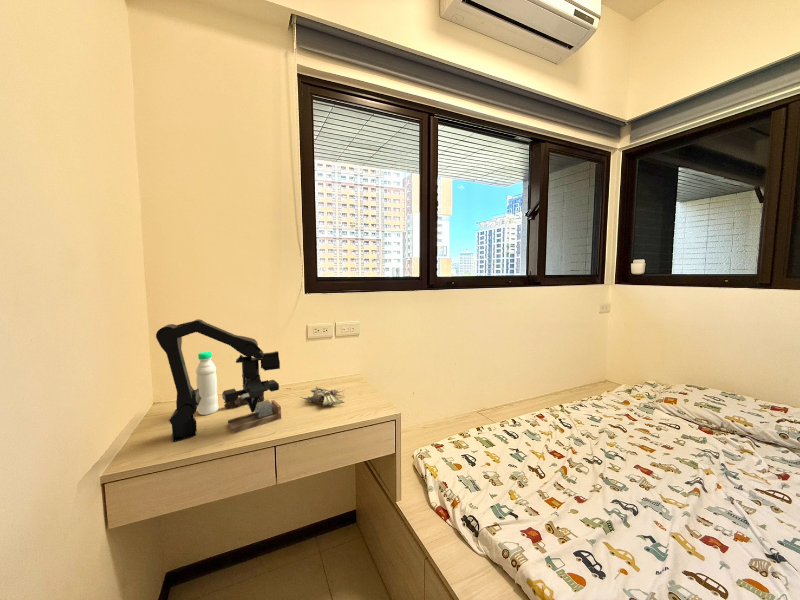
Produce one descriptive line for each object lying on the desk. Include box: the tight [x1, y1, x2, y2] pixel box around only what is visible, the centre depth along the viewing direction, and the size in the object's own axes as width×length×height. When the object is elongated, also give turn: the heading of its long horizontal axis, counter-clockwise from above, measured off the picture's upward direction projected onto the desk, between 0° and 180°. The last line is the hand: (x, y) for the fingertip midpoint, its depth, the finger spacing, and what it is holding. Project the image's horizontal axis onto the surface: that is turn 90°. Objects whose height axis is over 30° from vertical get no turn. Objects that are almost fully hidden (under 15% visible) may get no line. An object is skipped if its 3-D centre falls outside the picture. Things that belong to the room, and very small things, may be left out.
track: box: [227, 399, 282, 434], centre depth 117 cm, size 17×8×5 cm, turn 131°
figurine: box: [299, 386, 346, 407], centre depth 134 cm, size 20×6×17 cm
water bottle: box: [195, 351, 219, 416], centre depth 125 cm, size 7×7×25 cm
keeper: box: [254, 399, 272, 419], centre depth 119 cm, size 5×5×5 cm
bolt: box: [223, 394, 265, 409], centre depth 133 cm, size 6×5×15 cm
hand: (252, 412), depth 116 cm, fingers closed
